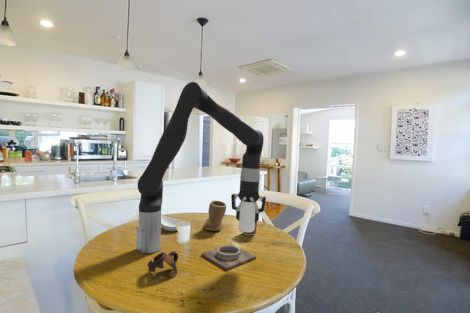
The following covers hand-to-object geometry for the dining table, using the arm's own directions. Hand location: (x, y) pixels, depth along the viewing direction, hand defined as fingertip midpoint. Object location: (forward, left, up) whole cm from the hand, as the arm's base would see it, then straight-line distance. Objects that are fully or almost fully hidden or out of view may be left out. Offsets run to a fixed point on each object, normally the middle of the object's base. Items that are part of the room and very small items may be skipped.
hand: (247, 220), depth 101 cm
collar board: (-3, +7, -16) cm, 18 cm away
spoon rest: (-8, +56, -17) cm, 59 cm away
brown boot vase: (+15, +39, -17) cm, 45 cm away
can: (0, 0, -4) cm, 4 cm away
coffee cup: (+24, +21, -17) cm, 36 cm away
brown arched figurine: (-29, +12, -17) cm, 35 cm away
